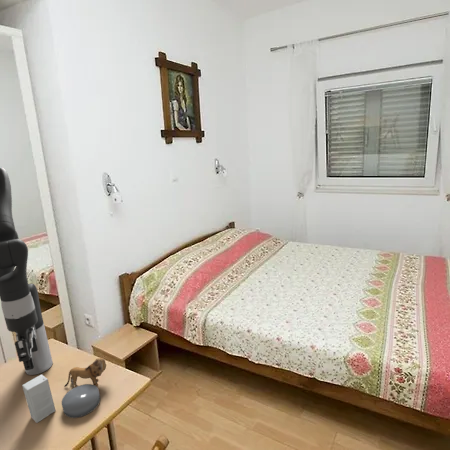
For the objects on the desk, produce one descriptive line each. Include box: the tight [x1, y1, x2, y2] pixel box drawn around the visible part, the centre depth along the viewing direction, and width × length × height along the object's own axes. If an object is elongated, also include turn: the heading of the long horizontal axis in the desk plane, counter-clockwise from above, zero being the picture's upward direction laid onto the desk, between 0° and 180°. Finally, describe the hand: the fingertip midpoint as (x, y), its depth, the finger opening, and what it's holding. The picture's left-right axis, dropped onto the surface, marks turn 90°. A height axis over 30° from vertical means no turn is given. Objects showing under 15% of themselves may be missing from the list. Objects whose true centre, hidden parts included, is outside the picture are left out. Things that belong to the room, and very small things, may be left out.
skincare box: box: [21, 373, 56, 424], centre depth 106 cm, size 6×4×12 cm
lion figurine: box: [64, 357, 107, 388], centre depth 118 cm, size 15×5×9 cm, turn 101°
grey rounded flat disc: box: [61, 383, 101, 419], centre depth 110 cm, size 11×11×3 cm
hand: (32, 359), depth 100 cm, fingers open, 8 cm apart
